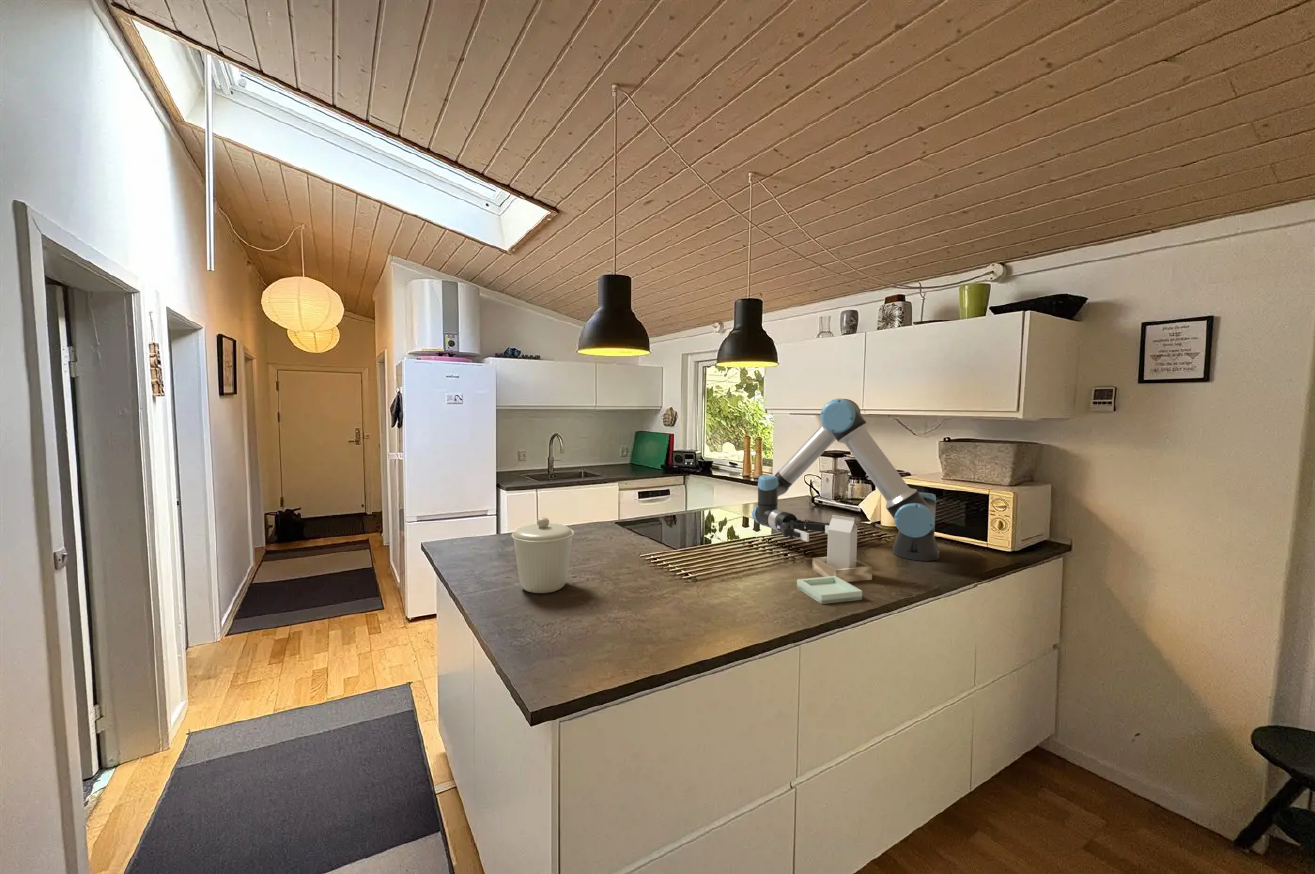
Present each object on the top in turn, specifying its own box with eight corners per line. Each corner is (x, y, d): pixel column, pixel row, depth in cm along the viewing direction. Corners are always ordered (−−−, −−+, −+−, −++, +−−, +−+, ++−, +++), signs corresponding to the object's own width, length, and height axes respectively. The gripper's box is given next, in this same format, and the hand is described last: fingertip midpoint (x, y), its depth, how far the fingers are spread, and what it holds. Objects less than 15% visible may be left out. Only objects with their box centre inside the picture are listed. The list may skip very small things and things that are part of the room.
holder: (846, 566, 178) (846, 555, 177) (871, 579, 165) (872, 566, 165) (812, 569, 174) (812, 557, 174) (835, 583, 162) (835, 570, 162)
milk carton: (849, 579, 165) (850, 519, 163) (826, 575, 169) (828, 516, 168) (855, 573, 170) (857, 515, 169) (834, 569, 175) (835, 512, 173)
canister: (560, 601, 146) (560, 526, 145) (500, 596, 150) (499, 523, 148) (583, 579, 164) (582, 512, 162) (528, 575, 168) (527, 509, 166)
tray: (834, 583, 161) (835, 575, 161) (862, 599, 149) (862, 590, 148) (796, 587, 158) (797, 579, 158) (821, 604, 145) (821, 595, 145)
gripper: (809, 528, 201) (851, 542, 181) (755, 535, 190) (793, 550, 171) (810, 508, 200) (852, 520, 181) (755, 514, 190) (794, 528, 170)
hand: (824, 535), depth 176 cm, fingers open, 13 cm apart
